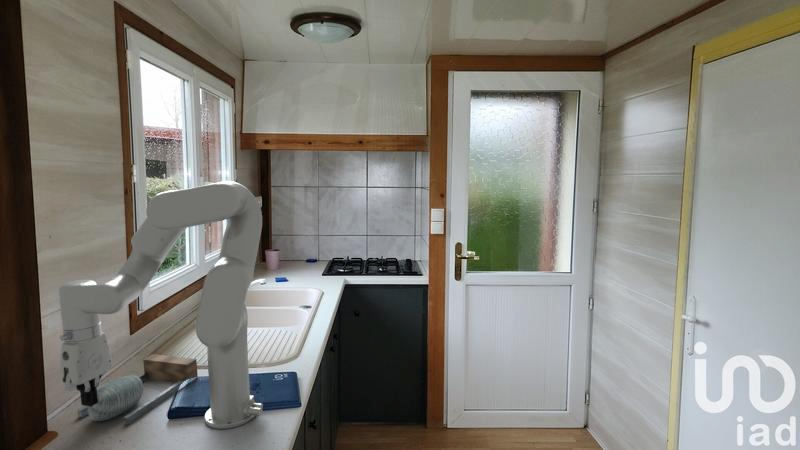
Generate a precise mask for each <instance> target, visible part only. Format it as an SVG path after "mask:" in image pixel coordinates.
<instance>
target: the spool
mask: <svg viewBox="0 0 800 450" xmlns="http://www.w3.org/2000/svg"><path fill="white" fill-rule="evenodd" d="M137 376H138V375H133V374H129V375H125V376H121V377H118V378H115V379H112V380H111V381H108V382H106V383H104V384H102V385H101V386H98V387H97V398H98V403H97V404H94V405H93V406H88V408H87V409H88V416H89V417H90V419H91V420H93V421H95V422H104V421H107V420H111V419H113V418H115V417H118V416H119V415H121V414H123V413H125V412H126V411H128V410H130V409H131V408H132V407H133V406H135V405H136V404H137V403H138V402H139V401H140V400H141V398H142V396H143V393H144V384H143V383H144V382H142V381H141V379H140V378H138V377H137Z"/></svg>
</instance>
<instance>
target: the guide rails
mask: <svg viewBox="0 0 800 450" xmlns="http://www.w3.org/2000/svg"><path fill="white" fill-rule="evenodd" d="M136 376H137V377H138V378H140V379H141V381H142V383H144V382H145V381H147V380H149V379H148V373H147V372H144V371H143V372H142V373H140V374H139V375H136ZM186 380H188V378H187V377H184V378H183V379H181V380H180V381H178V382H177V383H176V382H174V384H172V385H171V386H169V387H168V388H166V389H165V390H163V391H162V392H160V393H158V394H157V395H156V396H153V397H152V398H151V399H149V400H148V401H146V402H144V403H143V404H142V405H140V406H137V408H136V409H134V410H132V411H131V412H129V413H128V414H126V415H125V416H123V425H124V426H129V425H131V424H132V423H134V422H135V421H137V420H138V419H140V418H141V417H143V416H144V415H146V414H148V412H150V411H152V410H153V409H155V408H156V407H157V406H159V405H161V404H162V403H163V402H164V401H166V400H167V399H168V400H169V398H170V397H172V396H173V395H175V394H176V393H177V392H176V391H177V390H178V388H179V386H180V385H181V384H182V383H183V382H184V381H186ZM87 408H88V406H84V405H83V406H82V407H80V408H79V409H77V410H76V411H77V417H79V418H80V419H83V418H85V417H86V416H89V414H88V409H87Z"/></svg>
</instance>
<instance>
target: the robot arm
mask: <svg viewBox="0 0 800 450" xmlns="http://www.w3.org/2000/svg"><path fill="white" fill-rule="evenodd" d="M145 213H146V217H145V219H144V220H143V222H142V224H141V225H140V226H139V228H138V229H137V230H136V232H134V234H133V235H132V237H131V239H130V244H131V247H132V250H131V253H130V255H129V257H128V258H127V260H126V261H125V263H124V264H123V265H122V267H121V269H119V271H118V272H117V273H116V274H115V275H114V276H113V277H110V278H109V279H107V280H105V281H103V282H100V283H96V281H95V280H92V279H78V280H77V279H76V280H70V281H68V282H65V283H62V284H61V285H60V287H59V288H58V297H59V306H60V315H61V325H62V335H60V336H59V339H60V340H61V341H62V342H61V350H60V376H61V381H62V383H63V384H65V385H64V391H66V392H73V391H75V390H76V391H78V392H79V393H80V395H79V396H80V401H81V406H83V407H84V406H93V405H94V404H97V403H98V398H97V389H98V388H99V387H100V380H101V379H102V377H103V376H104V375H105V374H106V373H108V371H109V370H110V369H112V366H113V365H112V364H113V362H112V361H113V360H112V355H111V354H112V353H111V348H110V344H109V340H108V338H107V335H106V333H105V332H104V331H102V329H103V328H102V321H101V320H102V319H101V315H113V314H116V313H119V312H120V311H121V310H123V309H124V308H127V306H128V305H129V304H131V303H133V302H134V301H135V300H137V299H138V298H139V297H140V295H141V294H142V293H143V292H144V291H145V289H146V288H147V287H148V285H149V283H150V282H151V281H152V279H154V277H155V275H156V274H157V272H158V271H159V269H160V267H161V265H162V264H163V263H164V261H165V260H166V257H167V256H168V255H169V252H170V251H171V250H172V249H173V247H174V246H175V244H176V243H177V242H178V240H179V239H180V237H182V235H183V234H184V232H185V231H186V230H187V228H191V227H196V226H202V225H205V224H206V225H207V224H212V223H217V222H222V221H225V220H226V227H225V229H224V233H223V237H222V243H221V247H220V252H219V256H218V259H217V261H216V262H215V264H214V265H213V266H212V267H211V268H210V269H209V270H208V272H207V275H206V276H205V278H204V282H203V286H202V291H201V295H200V299H199V304H198V309H197V313H196V318H195V326H194V328H195V335H196V337H197V338H198V340H199V342H200V343H201V344H202V345H204V346H205V347H206V349H207V351H206V352H207V370H208V371H207V373H208V383H209V385H208V386H209V387H208V388H209V401H210V402H209V403H210V408H209V409H208V410H206V412H205V414H204V422H205V424H206V425H207V426H208V427H210V428H212V429H220V430H221V429H222V430H223V429H233V428H236V427H239V426H242V425H245V424H247V423H248V422H250V421H252V420H253V419H254V418H255V417H256V416H257V417H261V416H262V415H263V409H264V403H262V402H255V396H254V395H251V392H250V390H251V388H250V373H249V371H250V370H249V353H248V352H249V350H248V349H249V347H248V345H249V344H248V326H249V325H248V316H249V315H248V309H247V306H246V303H245V302H246V298H247V293H248V290H249V288H250V287H251V284H252V283H253V281H254V274H255V273H254V272H255V266H256V263H257V257H258V252H259V245H260V239H261V235H262V228H263V215H262V213H263V212H262V207H261V206H260V203H259V201H258V200H257V198H256V197H255V195H254V194H253V193H252V192H251V191H250V190H249V189H248V188H247V187H246V186H244V185H243V184H241V183H238V182H236V181H232V180H231V181H230V180H224V181H220V182H215V183H210V184H205V185H200V186H194V187H189V188H183V189H174V190H167V191H163V192H159V193H157V194H155V195H154V196H153V197H152V198H151V199H150V200H149V201H148V202H147V205H146V211H145Z"/></svg>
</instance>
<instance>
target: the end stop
mask: <svg viewBox="0 0 800 450" xmlns="http://www.w3.org/2000/svg"><path fill="white" fill-rule="evenodd" d="M197 361H198V360H197V358H192V357H190V358H189V357H182V356H172V355H162V354H156V353H153V354H150V355H148V356H147V357H146V358H145V357H144V358H143V361H142V363H143V373H144V372H147V373H148V379H147V380H154V381H163V382H168V383H169V382H171V383H177V382H178V381H180V380H181V379H183V378H184V377H187V378H188V379H191V378H194V377H198V365H197V364H198V363H197ZM198 378H199V377H198Z"/></svg>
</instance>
